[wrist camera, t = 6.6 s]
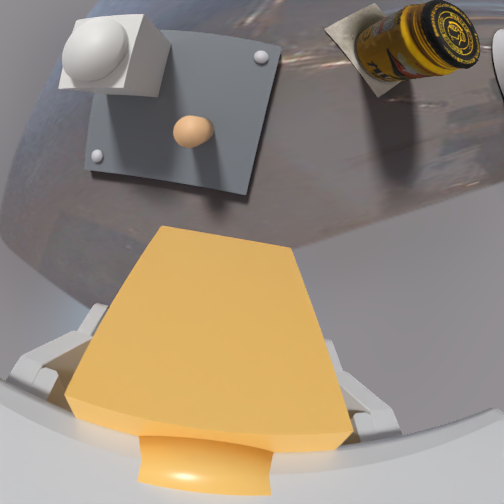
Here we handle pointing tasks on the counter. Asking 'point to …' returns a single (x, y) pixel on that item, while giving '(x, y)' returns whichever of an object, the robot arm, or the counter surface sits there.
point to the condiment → (407, 42)
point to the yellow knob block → (212, 365)
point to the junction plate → (170, 100)
